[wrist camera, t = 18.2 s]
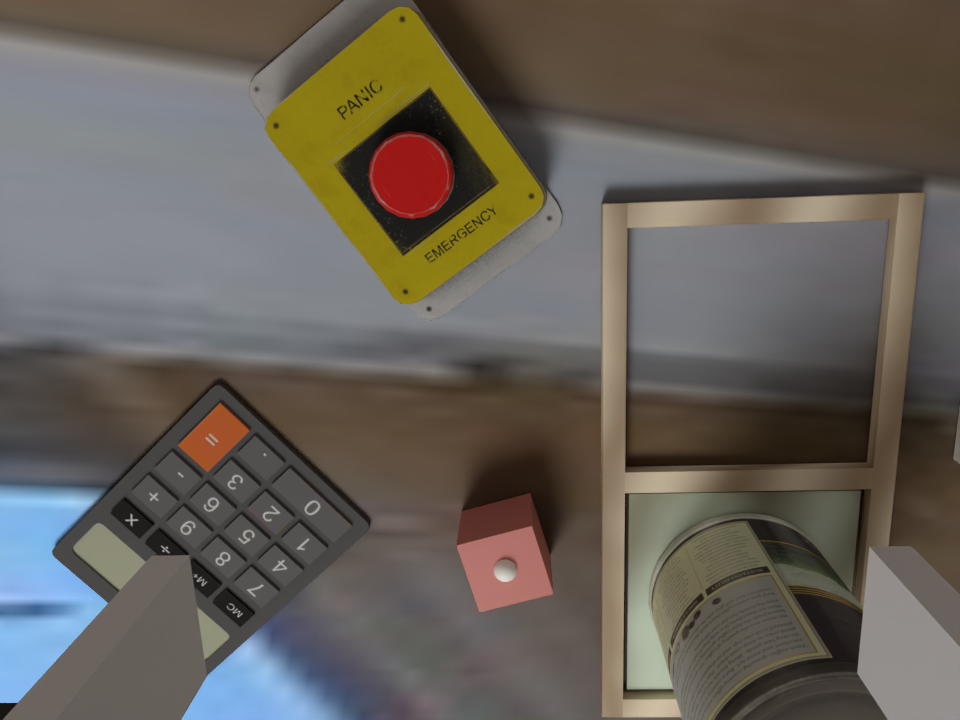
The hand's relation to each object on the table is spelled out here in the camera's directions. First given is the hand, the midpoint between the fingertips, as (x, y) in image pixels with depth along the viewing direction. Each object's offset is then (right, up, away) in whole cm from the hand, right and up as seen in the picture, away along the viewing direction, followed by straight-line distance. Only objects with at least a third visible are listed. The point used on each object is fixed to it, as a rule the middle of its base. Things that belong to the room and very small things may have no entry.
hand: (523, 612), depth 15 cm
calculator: (-16, -5, +30) cm, 35 cm away
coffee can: (+14, -8, +29) cm, 33 cm away
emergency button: (-4, +15, +25) cm, 29 cm away
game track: (+13, -1, +27) cm, 31 cm away
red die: (+1, -5, +29) cm, 29 cm away
